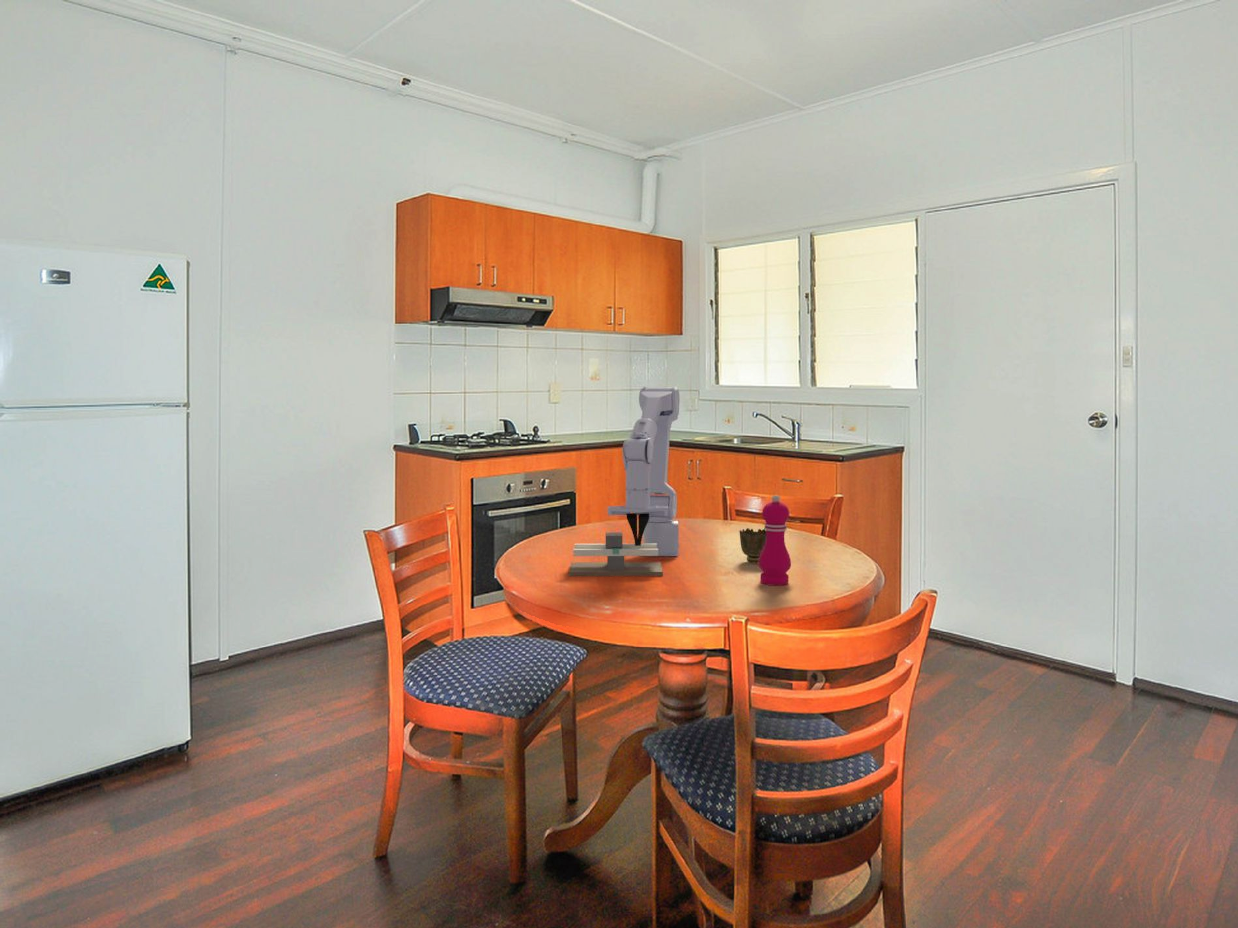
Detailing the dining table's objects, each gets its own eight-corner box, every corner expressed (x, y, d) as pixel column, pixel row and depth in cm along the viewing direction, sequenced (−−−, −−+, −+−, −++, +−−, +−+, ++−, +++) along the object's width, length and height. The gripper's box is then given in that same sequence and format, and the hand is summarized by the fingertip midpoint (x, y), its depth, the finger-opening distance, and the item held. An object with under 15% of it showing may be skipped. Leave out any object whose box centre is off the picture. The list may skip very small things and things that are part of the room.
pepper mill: (754, 578, 181) (756, 493, 179) (785, 577, 182) (787, 492, 180) (763, 586, 174) (764, 497, 172) (794, 585, 175) (796, 497, 173)
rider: (622, 548, 190) (622, 532, 190) (622, 552, 186) (622, 535, 186) (605, 548, 190) (605, 532, 190) (605, 552, 186) (605, 535, 186)
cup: (770, 559, 200) (771, 528, 199) (766, 566, 193) (767, 534, 192) (741, 557, 203) (742, 527, 202) (736, 564, 196) (737, 532, 195)
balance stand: (660, 565, 194) (660, 541, 193) (662, 575, 184) (662, 550, 183) (571, 566, 193) (570, 542, 193) (569, 576, 184) (568, 550, 183)
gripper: (607, 491, 183) (607, 548, 184) (669, 491, 183) (669, 548, 184) (607, 487, 190) (607, 542, 191) (667, 487, 190) (667, 542, 191)
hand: (637, 544), depth 188 cm, fingers closed
